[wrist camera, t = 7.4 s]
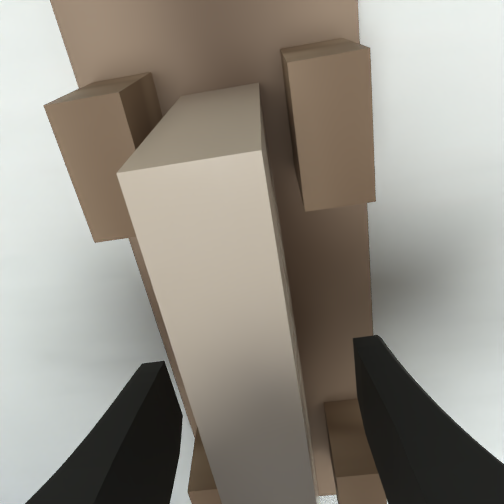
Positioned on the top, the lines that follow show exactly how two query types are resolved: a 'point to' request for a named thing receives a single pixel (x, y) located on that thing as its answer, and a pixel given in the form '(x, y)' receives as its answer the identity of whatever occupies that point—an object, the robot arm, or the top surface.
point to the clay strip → (225, 290)
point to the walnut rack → (283, 168)
